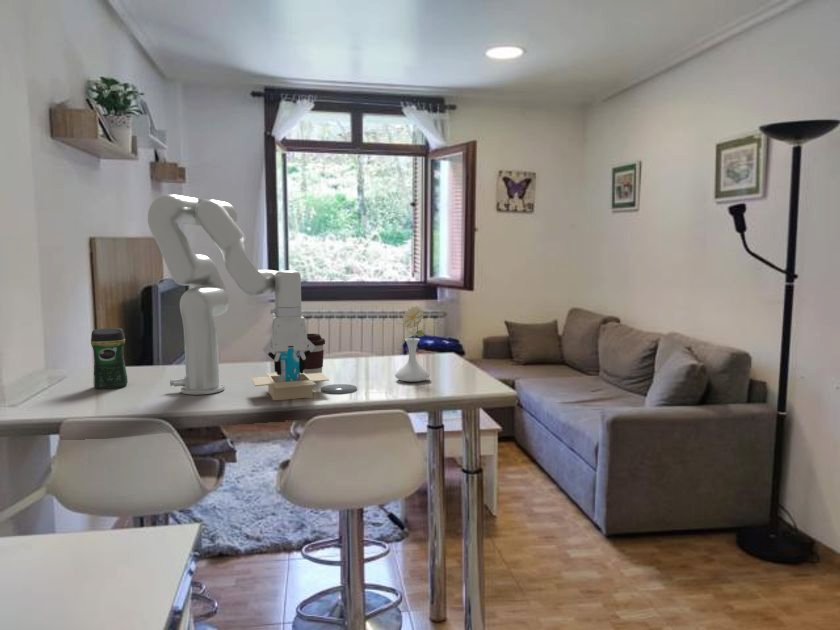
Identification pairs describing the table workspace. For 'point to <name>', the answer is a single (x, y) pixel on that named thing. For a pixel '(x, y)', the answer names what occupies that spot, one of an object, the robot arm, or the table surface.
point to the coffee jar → (109, 358)
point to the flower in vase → (412, 348)
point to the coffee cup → (314, 355)
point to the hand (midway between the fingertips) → (289, 372)
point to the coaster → (338, 389)
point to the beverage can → (290, 365)
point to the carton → (289, 385)
